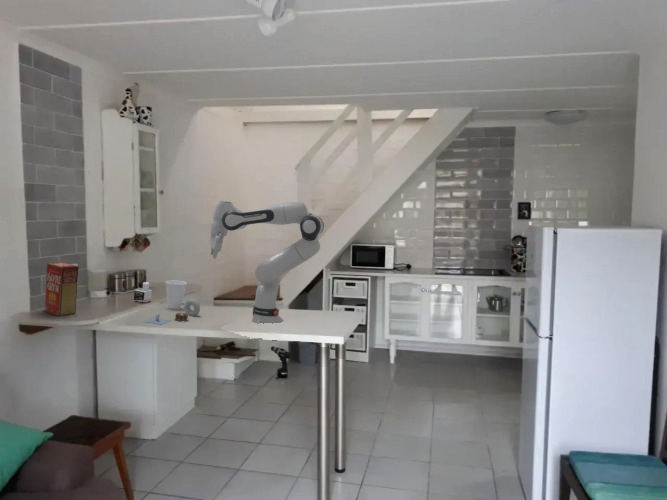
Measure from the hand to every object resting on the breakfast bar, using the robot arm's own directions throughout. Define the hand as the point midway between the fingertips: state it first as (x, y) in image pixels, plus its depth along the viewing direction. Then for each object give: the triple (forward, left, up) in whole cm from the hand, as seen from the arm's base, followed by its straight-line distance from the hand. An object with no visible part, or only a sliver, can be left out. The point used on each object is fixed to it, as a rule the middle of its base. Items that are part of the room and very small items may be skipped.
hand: (213, 256), depth 260 cm
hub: (+22, +11, -37) cm, 45 cm away
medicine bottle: (+51, -27, -37) cm, 69 cm away
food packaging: (+71, +19, -37) cm, 83 cm away
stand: (+13, +2, -37) cm, 39 cm away
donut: (+13, -11, -37) cm, 41 cm away
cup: (+28, -21, -37) cm, 51 cm away
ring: (+13, +2, -36) cm, 38 cm away
